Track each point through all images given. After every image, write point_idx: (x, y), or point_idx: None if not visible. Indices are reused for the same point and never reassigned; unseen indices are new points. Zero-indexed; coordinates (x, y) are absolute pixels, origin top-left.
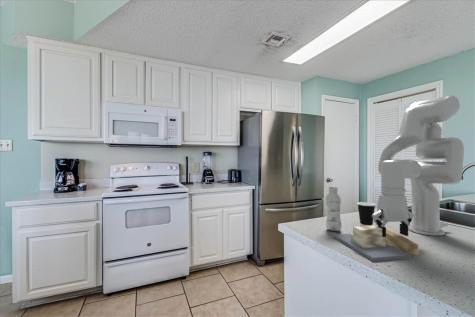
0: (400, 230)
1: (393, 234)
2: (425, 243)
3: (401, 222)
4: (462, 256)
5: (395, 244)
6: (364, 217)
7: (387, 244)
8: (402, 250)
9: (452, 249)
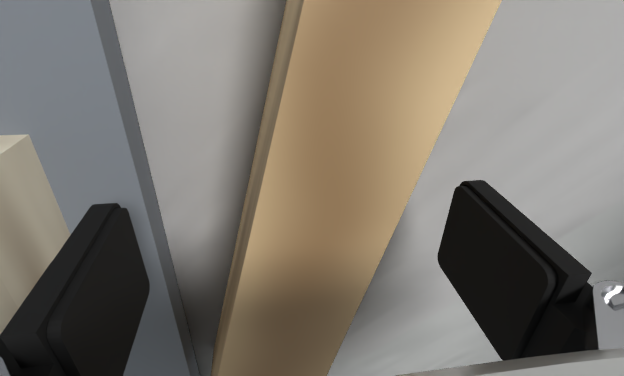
0: (479, 217)
1: (306, 246)
2: (573, 200)
3: (584, 328)
4: None
5: (229, 284)
6: None
7: (151, 275)
8: (216, 340)
9: None
